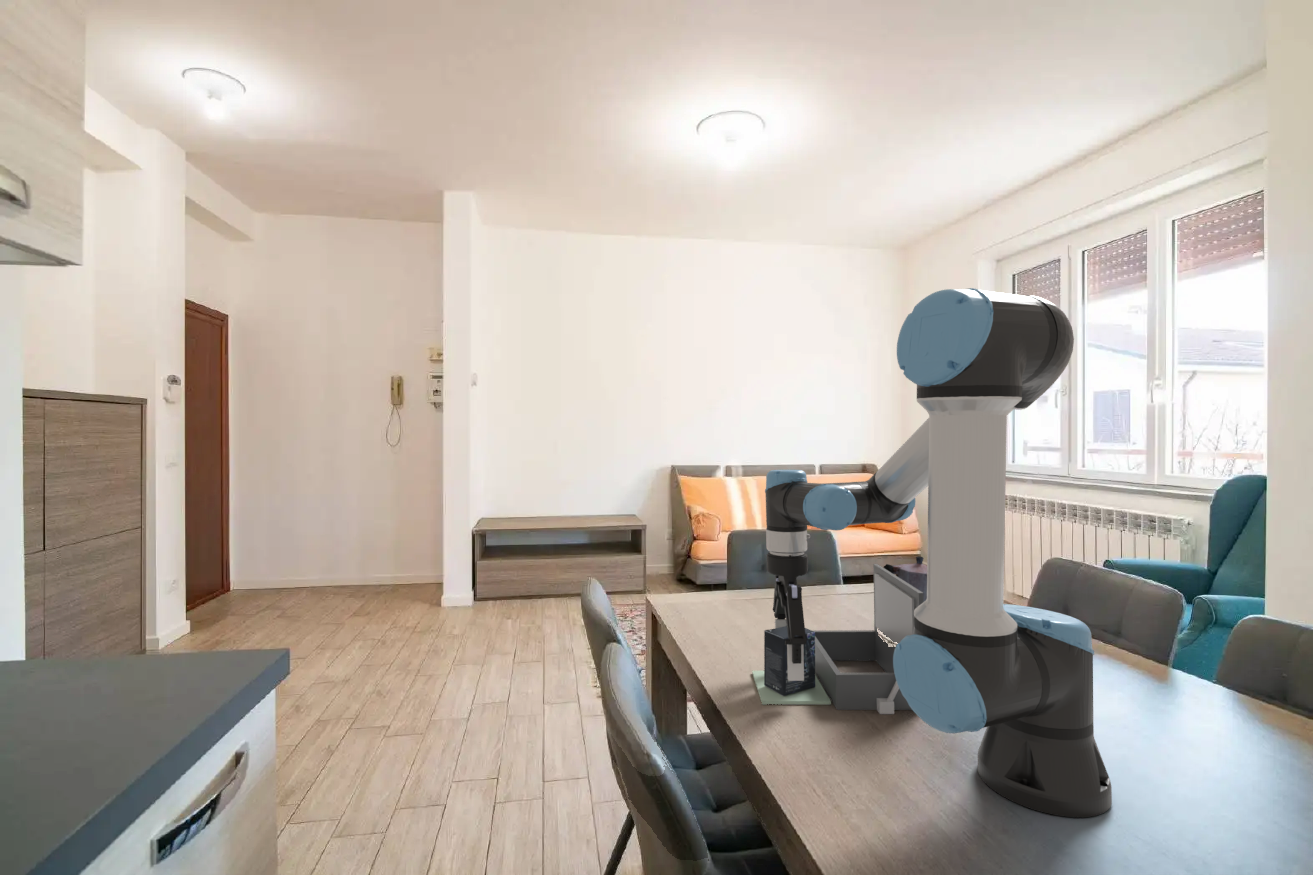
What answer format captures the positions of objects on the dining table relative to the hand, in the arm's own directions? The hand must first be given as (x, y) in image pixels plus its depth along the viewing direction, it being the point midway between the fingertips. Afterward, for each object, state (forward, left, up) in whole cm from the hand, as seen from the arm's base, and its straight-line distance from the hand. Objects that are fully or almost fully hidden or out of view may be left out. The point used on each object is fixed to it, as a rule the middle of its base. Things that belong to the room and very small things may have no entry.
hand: (788, 665), depth 113 cm
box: (-1, 0, -4) cm, 4 cm away
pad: (0, 0, -4) cm, 4 cm away
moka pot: (+23, -32, -4) cm, 40 cm away
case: (+3, -14, -4) cm, 15 cm away
